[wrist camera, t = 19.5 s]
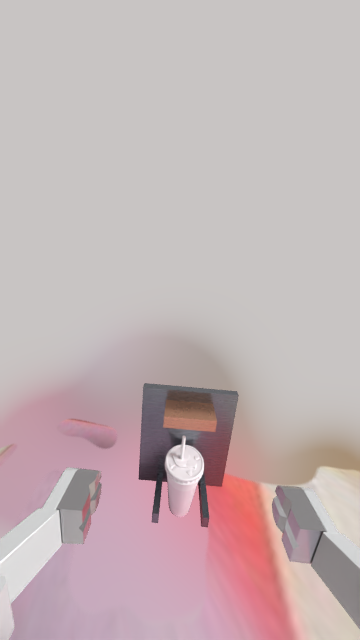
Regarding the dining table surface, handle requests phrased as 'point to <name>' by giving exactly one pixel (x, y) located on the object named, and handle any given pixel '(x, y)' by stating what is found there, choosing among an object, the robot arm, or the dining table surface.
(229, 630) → the dining table surface
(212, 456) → the gray menu stand
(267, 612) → the dining table surface
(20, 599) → the dining table surface
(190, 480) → the smoothie
